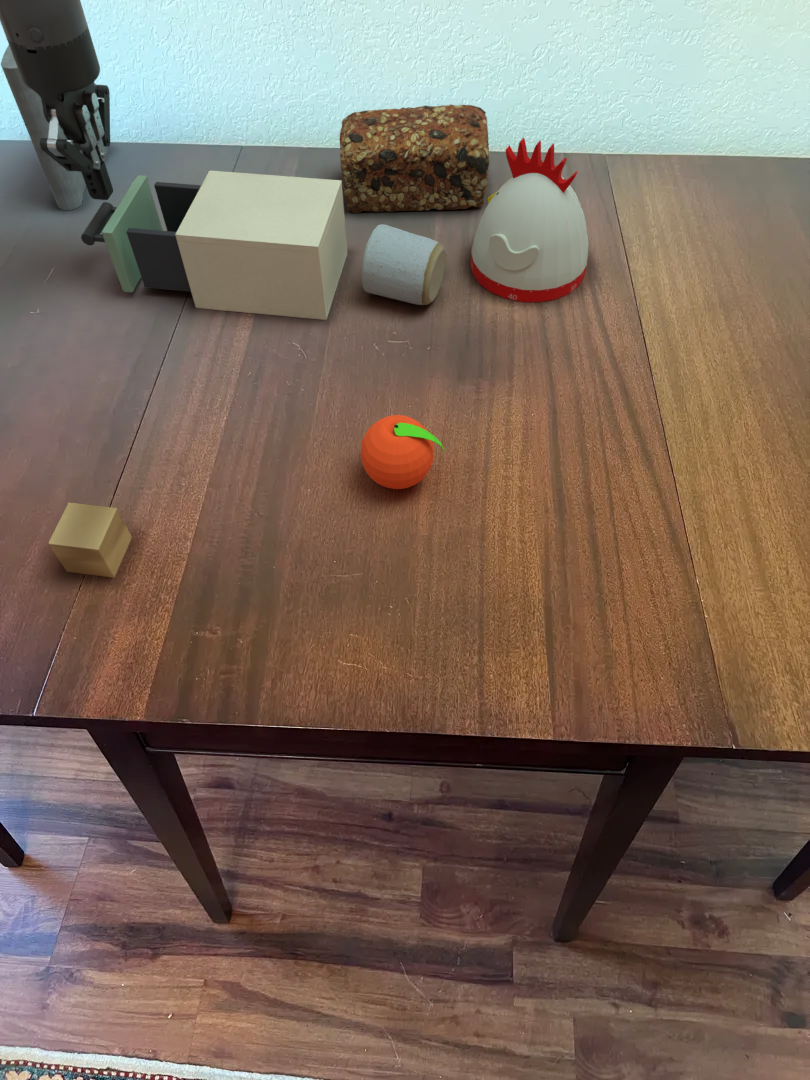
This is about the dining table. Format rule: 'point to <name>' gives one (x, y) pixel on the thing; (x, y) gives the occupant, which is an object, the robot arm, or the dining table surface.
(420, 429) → the clementine
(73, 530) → the block
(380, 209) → the bread
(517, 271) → the kitchen timer
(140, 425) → the dining table surface
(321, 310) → the drawer cabinet
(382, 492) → the dining table surface
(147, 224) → the drawer
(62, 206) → the hip flask
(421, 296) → the ceramic mug
